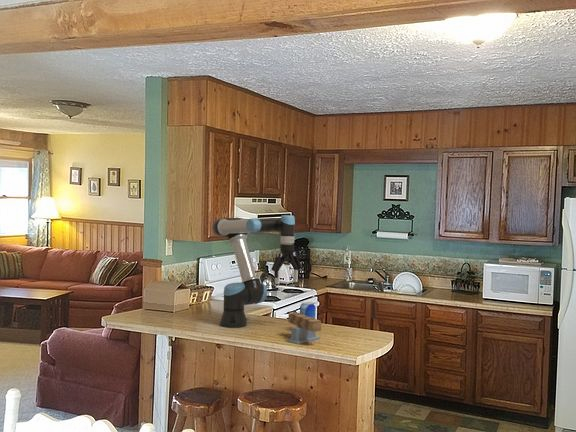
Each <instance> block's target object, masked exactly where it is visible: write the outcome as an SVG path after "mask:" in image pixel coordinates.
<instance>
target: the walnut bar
mask: <svg viewBox="0 0 576 432" xmlns="http://www.w3.org/2000/svg"><path fill="white" fill-rule="evenodd" d="M288 323H289V324H292V325H294V326H295V327H297V326H299V327H301V328H304V329H306V330H309V331H311V332H316V333H317V332H321V331H322V321H321V320H319V319H317V318H315V319H314V318H311V317H309V316H306V315H303V314H300V312H298V311H296V312H295V311H294V312H288Z"/></svg>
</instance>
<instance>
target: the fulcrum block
mask: <svg viewBox="0 0 576 432" xmlns="http://www.w3.org/2000/svg"><path fill="white" fill-rule="evenodd" d="M316 333H317V331H316V332H311V331H309V330H306V329H304V328H301V327H299V326H292V327H291V328H290V338H286V341H287V342H288V343H291V344H296V345H301V344H305V343H310V342H314V341H320V340H321V337H320V336H317V334H316Z"/></svg>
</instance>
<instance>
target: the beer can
mask: <svg viewBox="0 0 576 432" xmlns="http://www.w3.org/2000/svg"><path fill="white" fill-rule="evenodd" d="M299 313H300V314H303V315H306V316H309V317H311V318H314V319H316V305H315V303H314V301H313V302H312V301H302V302H301V304H300V306H299Z"/></svg>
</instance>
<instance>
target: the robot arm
mask: <svg viewBox="0 0 576 432" xmlns="http://www.w3.org/2000/svg"><path fill="white" fill-rule="evenodd" d="M295 218H296V217H295V216H294V215H291V214H290V215H289V214H284V215H283V214H282V215H281V216H280V217H279V218H276V217H266V218H265V217H264V218H262V217H261V218H260V217H259V218H258V217H257V218H256V217H255V218H254V217H252V218H243V217H237V216H236V217H219V218H217V219H216V220H214V221H213V223H212V225H211V227H212V233H213V234H214V235H215V236H217V237H219V238H227V240H228V242H229V244H231V245H232V249H233V252H234V257H235V260H236V263H237V267H238V270H239V275H240V278H241V282H238V281H237V282H232V283H227V284H226V285H224V288H223V310H222V311H223V312H222V315H221V318H220V319H219V321H220V322H219V324H220V326H221V327H224V328H242V327H244V328H245V327H246V326H247V325H248V320H247V317H246V313H245V306H247V305H248V306H249V305H257V304H260V303H261V304H262V303H263V302H265V300H266V298H267V296H268V295H267V294H268V289H267V285H266V284H264V283H263V282H261V280H260V277H257V276H256V275H257V274H256V271H255V267H254V264H253V261H252V257H251V254H250V250H249V246H248V242H247V238H248V235H249V233H280V246H279V247H280V248H279V249H280V252H276V255H275V258H274V261H273V264H272V267H271V268H270V269H271V271H273V273H274V284H277V285H280V279H281V277H280V274H281V273H280V272H281V271H280V269H281V268H282V266H283V265H284V263H285V262H288V261H289V262H290V264H291V265H292V268H294V269H293V270H292V271H293V273H292V282H294V283H297V282H298V280H299V279H298V277H299V271H300V270H301V269H302V265H301V262H300V259H299V255H298V251H297V252H296V251H295V229H296V227H295V225H296V219H295Z"/></svg>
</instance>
